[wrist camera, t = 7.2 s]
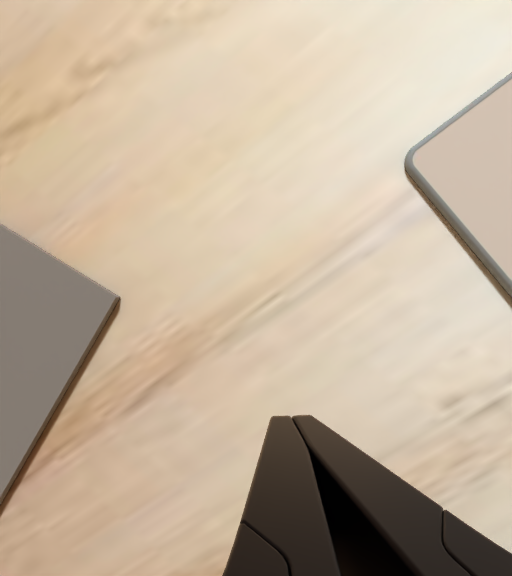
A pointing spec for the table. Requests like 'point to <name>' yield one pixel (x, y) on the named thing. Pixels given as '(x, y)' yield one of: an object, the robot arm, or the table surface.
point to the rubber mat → (40, 342)
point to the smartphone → (473, 176)
